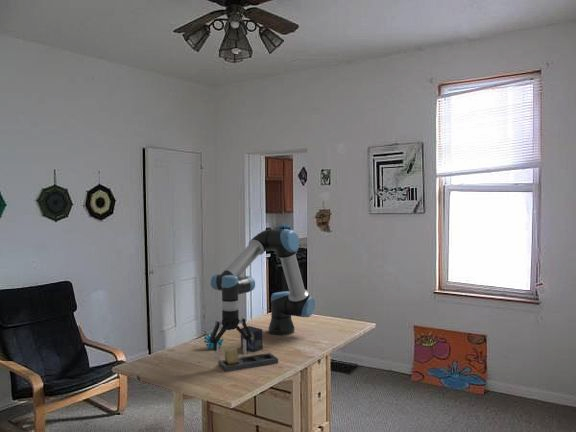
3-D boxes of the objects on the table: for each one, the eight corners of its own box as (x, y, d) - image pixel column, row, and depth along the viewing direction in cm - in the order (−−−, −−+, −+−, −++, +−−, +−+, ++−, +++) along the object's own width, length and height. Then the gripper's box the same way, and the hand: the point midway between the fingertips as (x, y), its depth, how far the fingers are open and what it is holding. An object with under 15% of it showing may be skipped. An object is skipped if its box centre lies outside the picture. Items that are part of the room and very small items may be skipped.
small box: (240, 347, 255) (239, 328, 255) (249, 345, 260) (249, 325, 259) (254, 352, 248) (253, 331, 247) (263, 349, 253) (263, 328, 252)
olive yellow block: (234, 364, 229) (234, 347, 229) (237, 367, 225) (237, 350, 225) (225, 366, 227) (225, 349, 227) (228, 369, 223) (227, 351, 223)
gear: (207, 348, 249) (203, 331, 255) (202, 354, 252) (199, 338, 258) (226, 347, 255) (222, 331, 261) (222, 354, 258) (218, 337, 264)
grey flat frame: (269, 356, 240) (269, 352, 240) (278, 362, 231) (278, 358, 231) (218, 365, 229) (218, 360, 229) (225, 371, 220) (225, 367, 219)
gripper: (252, 305, 234) (253, 349, 234) (201, 310, 223) (202, 356, 224) (258, 308, 227) (258, 353, 228) (206, 314, 216) (207, 361, 217)
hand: (231, 355), depth 226 cm, fingers open, 13 cm apart
